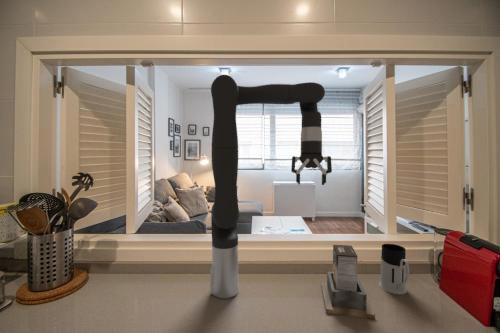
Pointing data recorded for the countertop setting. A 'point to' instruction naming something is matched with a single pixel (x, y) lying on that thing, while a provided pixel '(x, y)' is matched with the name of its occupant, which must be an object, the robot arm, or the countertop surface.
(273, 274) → the countertop surface
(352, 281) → the coffee box
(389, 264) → the glass holder
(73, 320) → the countertop surface
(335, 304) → the dock
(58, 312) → the countertop surface
